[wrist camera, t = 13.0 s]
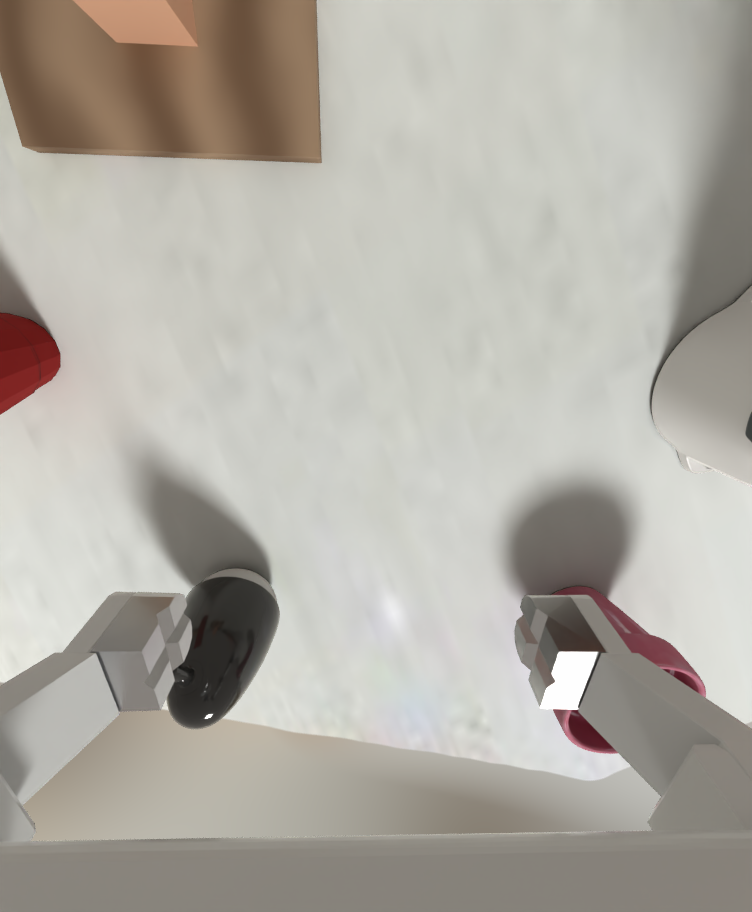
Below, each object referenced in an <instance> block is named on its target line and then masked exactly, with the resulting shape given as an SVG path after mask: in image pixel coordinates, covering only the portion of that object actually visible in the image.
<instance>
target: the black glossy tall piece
mask: <svg viewBox="0 0 752 912" xmlns="http://www.w3.org/2000/svg"><path fill="white" fill-rule="evenodd" d="M185 600H186V603H187V607H186V609H185V610H184V612H183V613H184V614H185V615H186V616H187V617H188V618H189V619H190V620H191V624H192V639H191V644H190V648H189V651H188V654H187V656H186V658H185V660H184V662H183V663H182V664H181V665H179V666H178V667H177V668H176V669H174V670H173V671H172V672H173V675H174V679H175V681H174V683H173V685H172V688H171V690H170V692H169V694H168V696H167V698H166V700H167V705H168V709H169V712H170V714H171V716H172V718H173V719H174V720H175V721H176V722H177V723H178V724H179V725H181V726H183V727H185V728H189V729H202V728H206V727H209V726H211V725H213V724H215V723H216V722H218V721H219V720H220V719H222V718H223V717H224V716H225V715H226V714H227V713H228V712H229V711H230V710H231V709H232V708H233V707H234V706H235V704H236V703H237V702H238V701H239V699H240V698H241V697H242V695H243V694H244V693H245V691H246V690H247V688H248V687H249V685H250V684H251V682H252V680H253V679H254V677H255V675H256V674H257V672H258V670H259V668H260V667H261V665H262V663H263V661H264V659H265V657H266V655H267V653H268V650H269V648H270V646H271V643H272V641H273V638H274V636H275V633H276V630H277V627H278V623H279V618H280V611H279V607H278V604H277V599H276V595H275V593H274V590H273V589H272V587H271V585H270V584H269V583H268V582H267V581H266V580H265V579H264V578H263V577H262V576H260V575H259V574H257V573H255V572H253V571H250V570H246V569H239V568H232V569H225V570H221V571H219V572H216V573H214V574H212V575H210V576H209V577H207V578H206V579H205V580H203V581H202V582H201V583H199V584H198V585H196V586H195V587H194V588H193V589H192V590H191V591H190V592H189V593H188V595H187V597H186V598H185Z"/></svg>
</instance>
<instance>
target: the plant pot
mask: <svg viewBox="0 0 752 912" xmlns="http://www.w3.org/2000/svg"><path fill="white" fill-rule="evenodd" d="M552 595H565V596H566V595H588V596H590V597H591V598H592V599H593V600H594V601H595V603H596V604H597V605H598V607H599V608H600V610H601V611H602V612H603V614H604V615H605V617H606V618H607V619H608V621H609V622H610V623H611V625H612V626H613V628H614V629H615V630H616V632H617V633H618V635H619V636H620V637H621V639H622V640H623V641H624V643H625V644H626V646H627V647H628V648H629V650H630V651H631V653H639V654H640V655H642V656H643V657H645V658H646V659H648V660H649V661H651V662H652V663H654V664H655V665H657V666H658V667H660V668H661V669H663V670H664V671H666V672H667V673H669V674H670V675H672V676H673V677H675V678H676V679H678V680H679V681H681V682H682V683H684V684H685V685H687V686H688V687H690V688H691V689H693V690H694V691H696V692H697V693H699V694H700V695H702V696H703V697H706V691H705V686H704V684H703V682H702V680H701V678H700V677H699V676H698V674H697V673H696V672H695V671H694V669H693V668H692V667H691V666H690V665H689V663H688V662H687V661H686V660H685V659H684V657H683V656H682V655H681V654H680V653H679V652H678V651H677V650H676V649H675V648H674V647H673V646H672V645H671V644H670V643H668V642H667V641H665V640H663V639H661V638H659V637H656V636H652V635H650V634H648V633H647V632H646V631H645V630H644V629H643V628H641V627H640V626H639V625H638V624H637V623H636V622H634V621H633V620H632V619H631V618H630V617H629V616H627V615H626V614H625V613H624V612H623V611H621V610H620V609H619V608H618V607H616V606H615V605H614V604H613V603H612V602H610V601H609V600H608V599H607V598H606V597H604V596H603V595H602V594H601V593H600V592H598V591H597V590H595V589H592V588H589V587H583V586H576V587H569V588H565V589H562V590H560V591H558V592H556V593H554V594H552ZM578 710H579V709H553V711H554V713H555V715H556V717H557V719H558V721H559V723H560V725H561V727H562V729H563V731H564V733H565V735H566V736H567V737H568V739H569V740H570V741H571V742H572V743H574V744H575V745H577V746H578V747H580V748H582V749H585V750H588V751H592V752H597V753H609V754H614V753H618V752H617V751H616V750H615V749H614V748H613V747H612V746H611V745H610V744H609V743H608V742H607V741H606V740H605V739H604V738H603V737H602V736H601V735H600V734H599V733H598V732H597V730H596V729H595V728H594V727H593V726H592V725H591V724H590V723H589V722H588V721H587V720H586V719H585V718H584V717H583V716H582V715H581V714H580V713H579V712H578Z"/></svg>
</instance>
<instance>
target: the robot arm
mask: <svg viewBox="0 0 752 912" xmlns="http://www.w3.org/2000/svg"><path fill="white" fill-rule="evenodd" d="M652 415H653V420H654V423H655V426H656V428H657V430H658V432H659V433H660V435H661V436H662V437H663V438H664V439H665V440H666V441H667V442H668V443H670V444H671V445H672V446H673V447H674V448H675V449H676V450H677V452H678V456H679V459H680V462H681V465H682V466H683V468H684V469H686V470H688V471H690V472H692V473H696V474H699V473H705V472H711V471H717V472H719V473H721V474H724V475H726V476H728V477H730V478H732V479H735V480H737V481H739V482H741V483H743V484H746V485H748V486H750V487H752V286H751V287H749V289H748V290H747V291H746V292H745V293H744V294H743V295H742V296H741V297H740V298H739V299H738V300H737V301H736V302H735V303H733V304H732V305H730V306H729V307H727V308H726V309H724V310H722V311H720V312H719V313H717V314H715V315H713V316H712V317H710V318H708V319H707V320H705V321H704V322H702V323H701V324H700V325H698V326H697V327H696V328H695V329H693V330H692V331H691V332H690V333H689V334H688V335H687V336H686V337H685V338H684V339H683V340H682V341H681V342H680V343H679V344H678V345H677V347H676V348H675V349H674V350H673V352H672V353H671V354H670V356H669V357H668V359H667V360H666V362H665V364H664V365H663V367H662V369H661V371H660V373H659V376H658V378H657V381H656V384H655V387H654V391H653V396H652ZM186 607H187V603H186V600H185V596H184V595H183V594H180V593H152V592H137V593H136V592H115V593H113V594H111V595H109V596H108V597H107V598H106V600H105V601H104V602H103V603H102V605H101V606H100V607H99V608H98V609H97V611H96V612H95V613H94V614H93V616H92V617H91V618H90V619H89V620H88V622H87V623H86V624H85V625H84V627H83V628H82V629H81V630H80V631H79V633H78V634H77V635H76V636H75V638H74V639H73V640H72V641H71V642H70V644H69V645H68V646H67V647H66V649H65V650H64V651H63V652H62V653H54V654H52V655H50V656H49V657H47V658H45V659H44V660H42V661H40V662H39V663H37V664H35V665H34V666H32V667H30V668H29V669H27V670H26V671H24V672H22V673H21V674H19V675H17V676H16V677H14V678H12V679H11V680H9V681H7V682H6V683H4V684H2V685H1V686H0V912H752V729H751V728H750V727H748V726H747V725H745V724H744V723H742V722H741V721H739V720H738V719H736V718H735V717H733V716H732V715H730V714H729V713H727V712H726V711H724V710H723V709H721V708H720V707H718V706H717V705H715V704H714V703H712V702H711V701H709V700H708V699H706V698H705V697H703V696H702V695H700V694H699V693H697V692H696V691H694V690H693V689H691V688H690V687H688V686H687V685H685V684H684V683H682V682H681V681H679V680H678V679H676V678H675V677H673V676H672V675H670V674H669V673H667V672H666V671H664V670H663V669H661V668H660V667H658V666H657V665H655V664H654V663H652V662H651V661H649V660H648V659H646V658H645V657H643V656H642V655H640V654H639V653H631V651H630V650H629V648H628V647H627V646H626V644H625V643H624V641H623V640H622V639H621V637H620V636H619V635H618V633H617V632H616V630H615V629H614V628H613V626H612V625H611V623H610V622H609V621H608V619H607V618H606V617H605V615H604V614H603V612H602V611H601V610H600V608H599V607H598V605H597V604H596V603H595V601H594V600H593V599H592V598H591V597H590V596H588V595H566V596H565V595H525V596H524V598H523V599H522V602H521V606H520V608H521V610H522V612H523V614H524V615H523V616H521V617H520V618H519V619H518V620H517V621H516V626H515V644H516V648H517V652H518V655H519V657H520V660H521V662H522V663H523V664H524V665H525V666H526V667H528V668H529V669H530V670H531V673H530V677H529V682H530V685H531V687H532V689H533V692H534V694H535V697H536V699H537V701H538V704H539V706H540V708H543V709H579V710H578V712H579V713H580V714H581V715H582V716H583V717H584V718H585V719H586V720H587V721H588V722H589V723H590V724H591V725H592V726H593V727H594V728H595V729H596V730H597V732H598V733H599V734H600V735H601V736H602V737H603V738H604V739H605V740H606V741H607V742H608V743H609V744H610V745H611V746H612V747H613V748H614V749H615V750H616V751H617V752H618V753H619V754H620V755H621V756H622V757H623V758H624V759H625V760H626V761H627V762H628V763H629V764H630V765H631V766H632V767H633V768H634V769H635V770H636V771H637V772H638V773H639V775H640V776H641V777H642V778H644V780H645V781H646V782H647V783H648V784H649V785H650V786H651V787H652V788H653V789H654V790H655V791H656V792H657V793H658V794H659V795H660V796H661V798H660V800H659V801H658V803H657V804H656V806H655V807H654V809H653V811H652V812H651V814H650V817H649V820H648V823H649V825H650V827H651V829H652V831H608V832H607V831H606V832H550V833H549V832H546V833H491V834H490V833H486V834H485V833H484V834H431V835H430V834H428V835H427V834H426V835H371V836H370V835H366V836H313V837H312V836H310V837H308V836H307V837H252V838H251V837H250V838H196V839H195V838H194V839H193V838H192V839H134V840H74V841H31V839H32V838H33V836H34V834H35V832H36V830H35V823H34V822H33V821H32V819H31V818H30V816H29V815H28V813H27V812H26V810H25V809H24V807H23V806H22V805H23V804H24V803H25V802H27V801H28V800H29V799H30V798H31V797H32V796H33V795H34V794H35V793H36V792H37V791H38V790H39V789H40V788H41V787H43V786H44V785H45V784H46V783H47V782H48V781H49V780H50V779H51V778H52V777H53V776H54V775H55V774H56V773H57V772H59V771H60V770H61V769H62V768H63V767H64V766H65V765H66V764H67V763H68V762H69V761H70V760H71V759H72V758H73V757H75V755H77V754H78V753H79V752H80V751H81V750H82V749H83V748H84V747H85V746H86V745H87V744H88V743H89V742H90V741H92V740H93V739H94V738H95V737H96V736H97V735H98V734H99V733H100V732H101V731H102V730H103V729H104V728H105V727H106V726H107V725H109V724H110V723H111V722H112V721H113V720H114V719H115V718H116V717H117V716H118V715H119V714H120V713H119V712H122V711H149V710H161V708H162V706H163V704H164V702H165V700H166V698H167V696H168V694H169V692H170V690H171V688H172V685H173V683H174V681H175V679H174V675H173V672H172V671H173V670H174V669H176V668H177V667H178V666H179V665H181V664H182V663H183V662H184V660H185V658H186V656H187V654H188V651H189V648H190V644H191V639H192V624H191V620H190V619H189V618H188V617H187V616H186V615H185V614H184V613H183V612H184V610H185V609H186Z"/></svg>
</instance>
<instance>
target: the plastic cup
mask: <svg viewBox="0 0 752 912" xmlns="http://www.w3.org/2000/svg"><path fill="white" fill-rule="evenodd" d="M59 368H60V352H59V350H58V348H57V345H56V343H55V341H54V340H53V338H52V337H51V336H50V335H49V334H48V332H47V331H46V330H45V329H44V328H42V327H41V326H39V325H38V324H36V323H35V322H33V321H32V320H30V319H26V318H23V317H20V316H16V315H12V314H8V313H0V415H1V414H2V413H4V412H5V411H7V410H8V409H10V408H11V407H13V406H14V405H16V404H17V403H19V402H20V401H22V400H23V399H25V398H26V397H28V396H30V395H31V394H33V393H34V392H35V390H36V389H38V388H39V387H41V386H43V385H44V384H46V383H47V382H49V381H51V380H52V379H53V377H54V376H55V375H56V374H57V372H58V370H59Z"/></svg>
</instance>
